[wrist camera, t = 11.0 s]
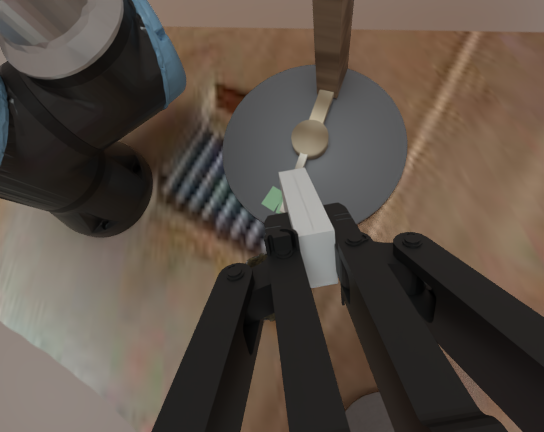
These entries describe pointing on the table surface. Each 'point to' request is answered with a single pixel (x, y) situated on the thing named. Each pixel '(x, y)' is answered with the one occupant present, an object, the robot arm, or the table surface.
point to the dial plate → (340, 152)
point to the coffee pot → (369, 415)
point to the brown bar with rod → (324, 75)
